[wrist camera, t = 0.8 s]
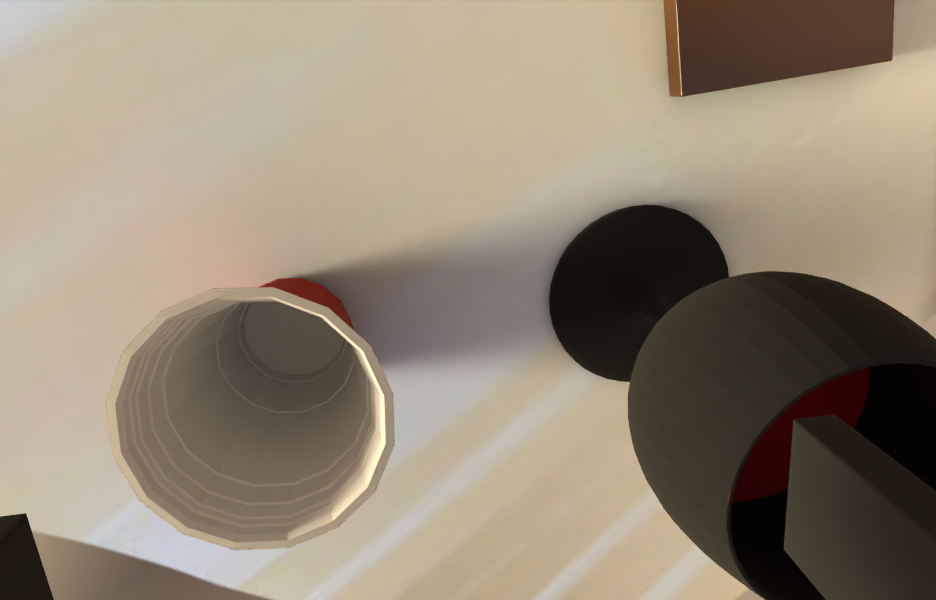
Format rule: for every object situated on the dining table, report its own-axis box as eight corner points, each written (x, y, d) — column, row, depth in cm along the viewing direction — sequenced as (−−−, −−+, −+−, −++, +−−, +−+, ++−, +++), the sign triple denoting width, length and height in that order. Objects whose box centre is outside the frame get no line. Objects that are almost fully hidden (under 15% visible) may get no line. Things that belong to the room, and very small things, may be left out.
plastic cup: (370, 206, 36) (359, 263, 25) (414, 391, 39) (422, 517, 28) (162, 249, 35) (53, 327, 24) (224, 432, 39) (155, 577, 27)
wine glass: (592, 409, 41) (765, 694, 22) (516, 259, 38) (641, 440, 19) (752, 328, 40) (1071, 548, 21) (689, 169, 37) (998, 260, 18)
